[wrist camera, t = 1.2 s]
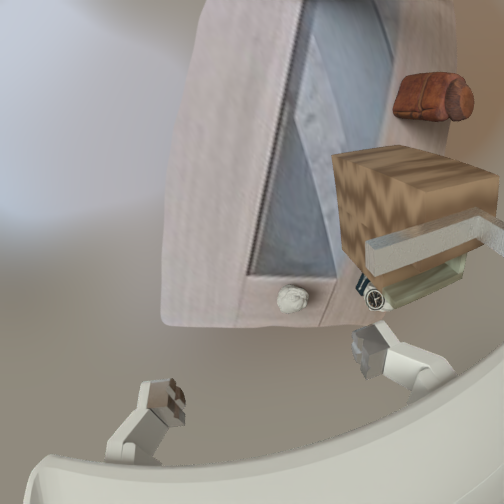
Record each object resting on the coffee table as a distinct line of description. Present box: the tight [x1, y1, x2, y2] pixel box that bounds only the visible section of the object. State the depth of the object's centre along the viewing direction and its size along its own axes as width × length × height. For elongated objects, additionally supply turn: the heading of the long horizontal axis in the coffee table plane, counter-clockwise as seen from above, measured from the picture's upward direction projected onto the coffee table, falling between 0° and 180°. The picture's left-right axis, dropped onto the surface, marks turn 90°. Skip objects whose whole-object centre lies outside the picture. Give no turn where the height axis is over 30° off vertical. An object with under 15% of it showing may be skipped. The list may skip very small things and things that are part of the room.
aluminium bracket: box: [365, 207, 504, 277], centre depth 22 cm, size 3×18×8 cm, turn 103°
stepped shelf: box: [331, 145, 499, 309], centre depth 40 cm, size 20×16×26 cm
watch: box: [356, 273, 394, 312], centre depth 56 cm, size 6×8×11 cm
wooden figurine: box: [393, 72, 474, 122], centre depth 34 cm, size 12×6×18 cm, turn 158°
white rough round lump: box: [277, 285, 309, 314], centre depth 55 cm, size 6×7×7 cm
